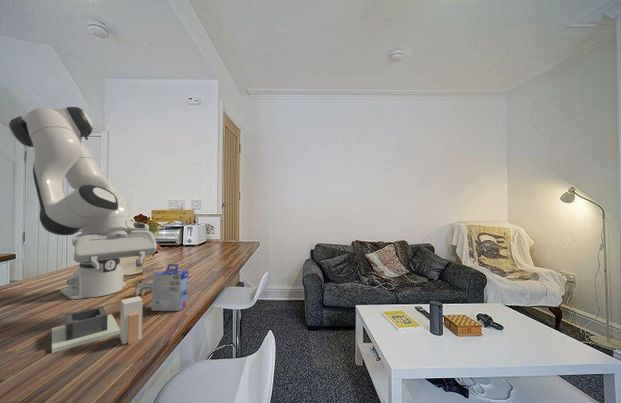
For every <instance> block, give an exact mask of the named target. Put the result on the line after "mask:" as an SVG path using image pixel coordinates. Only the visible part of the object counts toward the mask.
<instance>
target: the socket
mask: <svg viewBox="0 0 621 403" xmlns="http://www.w3.org/2000/svg"><path fill="white" fill-rule="evenodd" d="M117 335H120V326H119V325H118V323H117V321H116V320H115V317H114V316H113V314H112V313H110V314H108V313H107V311H106V309H105V307H104V305H102V306H97V307H93V308H88V309H82V310H79V311H75V312H74V311H73V312H70V313H65V319H64V325H60V326H55V327H52V328H51V354H55V353H56V352H60V351H64V350H67V349H71V348H75V347H78V346H81V345H85V344H89V343H93V342H97V341H99V340H104V339H107V338H109V337H110V338H111V337H114V336H117Z"/></svg>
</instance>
